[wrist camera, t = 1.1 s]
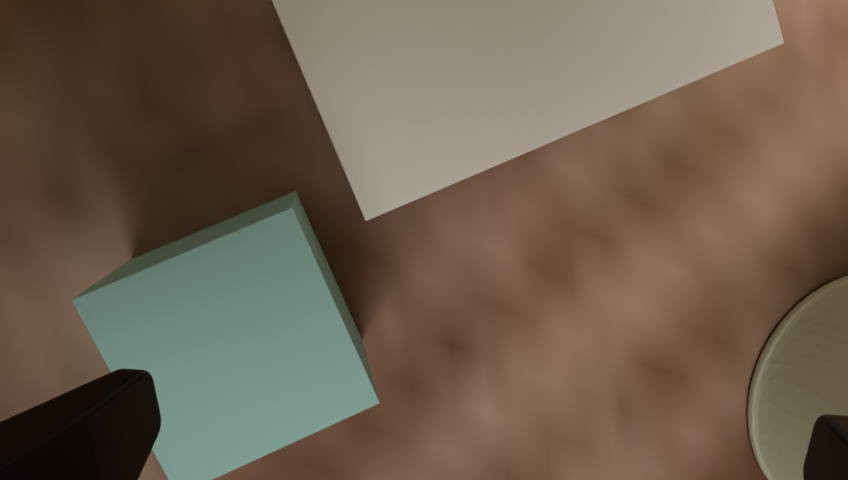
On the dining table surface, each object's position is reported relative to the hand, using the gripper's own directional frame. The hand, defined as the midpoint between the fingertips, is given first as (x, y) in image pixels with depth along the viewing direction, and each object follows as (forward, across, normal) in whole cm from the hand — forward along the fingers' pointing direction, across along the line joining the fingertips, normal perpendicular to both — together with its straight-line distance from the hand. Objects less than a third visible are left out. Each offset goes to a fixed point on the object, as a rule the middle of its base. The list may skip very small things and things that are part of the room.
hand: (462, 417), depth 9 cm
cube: (+9, +7, +3) cm, 12 cm away
